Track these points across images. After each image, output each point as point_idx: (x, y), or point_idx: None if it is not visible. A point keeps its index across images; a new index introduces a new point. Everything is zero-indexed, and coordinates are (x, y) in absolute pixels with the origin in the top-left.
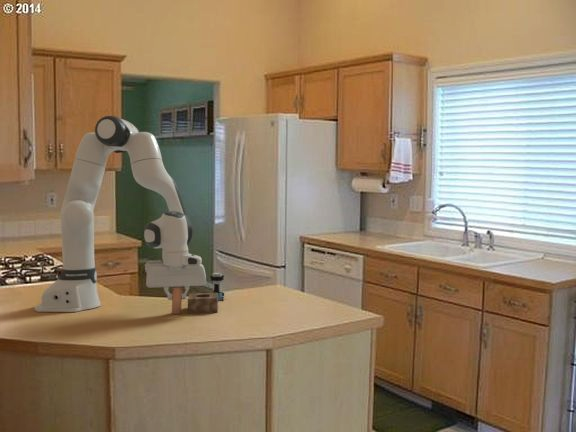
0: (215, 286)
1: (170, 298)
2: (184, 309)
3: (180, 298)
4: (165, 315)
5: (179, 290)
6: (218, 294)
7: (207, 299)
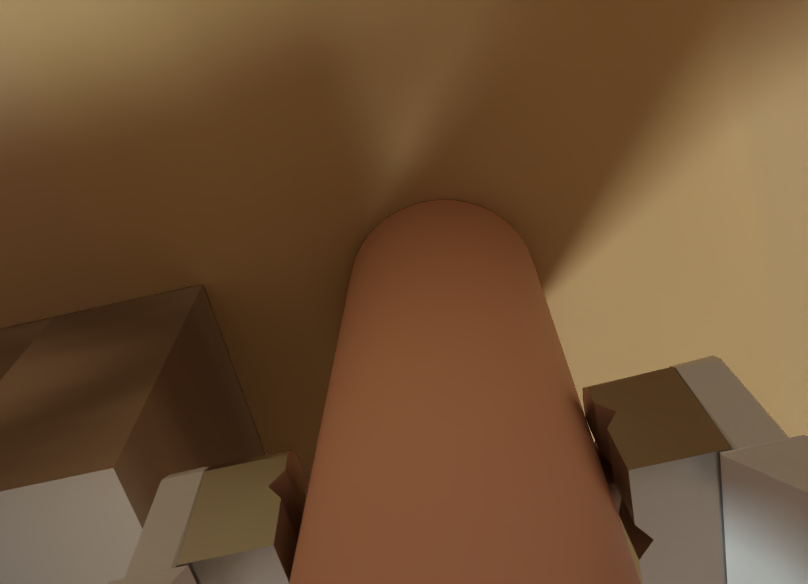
0: None
1: (637, 388)
2: None
3: (320, 442)
4: (621, 88)
5: None
6: None
7: None
